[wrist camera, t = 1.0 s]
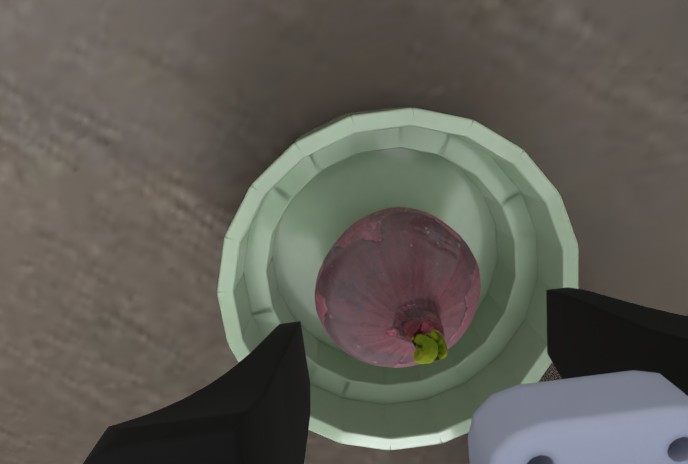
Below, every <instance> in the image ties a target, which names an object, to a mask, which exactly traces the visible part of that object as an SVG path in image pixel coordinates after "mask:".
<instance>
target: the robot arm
mask: <svg viewBox="0 0 688 464" xmlns="http://www.w3.org/2000/svg"><path fill="white" fill-rule="evenodd" d="M546 304H547V354H548V356H549V357H550V359H551V361H552V362H553V364H554V366H555V368H556V369H557V371H558V372H559V374H560V376H561V377H562V379H560V380H552V381H544V382H537V383H529V384H521V385H516V386H513V387H511V388H508V389H505V390H502V391H500V392H497V393H494V394H492V395H491V396H490V397H489V398H488V399H487V400H486V401H485V402H484V403H483V404H482V405H481V406H480V407H479V408H478V409H477V410H476V411H475V412H474V413H473V417H472V421H471V425H470V429H469V434H468V449H469V464H688V316H683V315H678V314H673V313H669V312H665V311H661V310H656V309H652V308H648V307H644V306H640V305H636V304H633V303H629V302H625V301H622V300H618V299H615V298H611V297H608V296H604V295H601V294H597V293H593V292H589V291H585V290H581V289H576V288H569V287H566V288H558V289H550V290H546ZM309 421H310V378H309V372H308V366H307V359H306V353H305V347H304V340H303V334H302V328H301V321H299V322H291V323H283V324H279V325H278V326H277V327H276V328H275V329H274V330H273V331H272V332H271V333H270V334H269V335H268V336H267V337H266V338H265V339H264V340H263V341H262V342H261V343H260V344H259V345H258V346H257V347H256V348H255V349H254V350H253V351H252V352H251V353H250V354H248V355H247V356H246V357H245V358H244V359H243V360H242V361H240V362H239V363H238V364H237V365H236V366H235V367H233V368H232V369H231V370H230V371H228V372H227V373H226V374H224V375H223V376H221V377H220V378H218V379H217V380H215V381H214V382H213V383H211V384H209V385H208V386H206V387H204V388H203V389H201V390H199V391H197V392H195V393H193V394H192V395H190V396H188V397H186V398H184V399H182V400H180V401H178V402H176V403H174V404H172V405H170V406H167V407H165V408H163V409H160V410H158V411H155V412H153V413H150V414H147V415H145V416H142V417H139V418H136V419H132V420H129V421H126V422H123V423H120V424H117V425H113V426H110V427H108V428H107V430H106V431H105V432H104V434H103V435H102V437H101V438H100V440H99V441H98V442H97V444H96V445H95V447H94V448H93V450H92V451H91V453H90V454H89V456H88V457H87V458H86V460H85V461H84V463H83V464H304V458H305V451H306V443H307V436H308V428H309Z"/></svg>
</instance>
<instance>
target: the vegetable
mask: <svg viewBox="0 0 688 464" xmlns="http://www.w3.org/2000/svg"><path fill="white" fill-rule="evenodd" d="M480 292H481V280H480V272H479V267H478V264H477V261H476V259H475V257H474V255H473V253H472V252H471V250H470V248H469V247H468V245H467V243H466V242H465V241H464V240H463V239H462V238H461V236H460V235H459V234H458V233H457V232H455V231H454V230H453V229H452V228H451V227H450V226H448V225H447V224H446V223H444V222H443V221H441V220H440V219H438V218H437V217H435V216H433V215H431V214H429V213H427V212H424V211H420V210H416V209H412V208H406V207H393V208H387V209H384V210H381V211H377V212H374V213H372V214H369V215H367V216H366V217H364V218H362V219H360V220H358V221H356V222H355V223H354V224H353V225H351V226H350V227H349V228H348V229H347V230H345V232H344V233H343V234H342V235H341V236H340V237H339V239H338V240H337V241H336V242H335V243H334V244H333V246H332V248H331V249H330V251H329V252H328V254H327V256H326V257H325V259H324V261H323V263H322V265H321V267H320V269H319V272H318V276H317V280H316V287H315V305H316V311H317V314H318V317H319V319H320V321H321V323H322V325H323V327H324V329H325V331H326V332H327V334H328V335H329V337H330V338H331V339H332V340H333V341H334V343H335V344H336V345H338V346H339V347H340V348H341V349H343V350H344V351H345V352H347V353H348V354H349V355H351V356H353V357H354V358H356V359H358V360H360V361H363V362H365V363H367V364H371V365H375V366H381V367H391V368H401V367H409V366H414V365H417V364H429V363H432V362H433V361H437V360H441V359H444V358H445V357H446V356H447V350H448V349H449V348H450V347H451V346H452V345H454V344H455V343H456V342H457V341H458V340H459V339H460V338H461V337H462V335H463V334H464V333H465V331H466V330H467V328H468V327H469V326H470V324H471V322H472V320H473V318H474V315H475V312H476V309H477V306H478V303H479V298H480Z"/></svg>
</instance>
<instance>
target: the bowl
mask: <svg viewBox="0 0 688 464" xmlns="http://www.w3.org/2000/svg"><path fill="white" fill-rule="evenodd" d="M393 207H406V208H412V209H416V210H420V211H424V212H427V213H429V214H431V215H433V216H435V217H437V218H438V219H440V220H441V221H443V222H444V223H446V224H447V225H448V226H450V227H451V228H452V229H453V230H454V231H455V232H457V233H458V234H459V235H460V236H461V238H462V239H463V240H464V241H465V242H466V243H467V245H468V247H469V248H470V250H471V252H472V253H473V255H474V257H475V259H476V261H477V264H478V267H479V272H480V280H481V292H480V298H479V303H478V306H477V309H476V312H475V315H474V318H473V320H472V322H471V324H470V326H469V327H468V328H467V330H466V331H465V333H464V334H463V335H462V337H461V338H460V339H459V340H458V341H457V342H456V343H455V344H454V345H452V346H451V347H450V348H449V349H448V350H447V356H446V357H445V358H444V359H441V360H437V361H433V362H432V363H429V364H417V365H414V366H409V367H401V368H391V367H381V366H375V365H371V364H367V363H365V362H363V361H360V360H358V359H356V358H354V357H353V356H351V355H349V354H348V353H347V352H345V351H344V350H343V349H341V348H340V347H339V346H338V345H336V344H335V343H334V341H333V340H332V339H331V338H330V337H329V335H328V334H327V332H326V331H325V329H324V327H323V325H322V323H321V321H320V319H319V317H318V314H317V311H316V305H315V287H316V280H317V276H318V272H319V269H320V267H321V265H322V263H323V261H324V259H325V257H326V256H327V254H328V252H329V251H330V249H331V248H332V246H333V244H334V243H335V242H336V241H337V240H338V239H339V237H340V236H341V235H342V234H343V233H344V232H345V230H347V229H348V228H349V227H350V226H351V225H353V224H354V223H355V222H356V221H358V220H360V219H362V218H364V217H366V216H367V215H369V214H372V213H374V212H377V211H381V210H384V209H387V208H393ZM566 287H569V288H576V289H578V243H577V240H576V237H575V234H574V231H573V228H572V226H571V223H570V220H569V217H568V214H567V211H566V209H565V206H564V203H563V200H562V197H561V195H560V194H559V192H558V190H557V189H556V188H555V187H554V186H553V184H552V183H551V182H550V181H549V179H548V178H547V177H546V176H545V175H544V173H543V172H542V171H541V170H540V168H539V167H538V166H537V165H536V164H535V162H534V161H533V160H532V159H531V158H530V156H529V155H528V154H527V153H526V151H524V150H523V149H522V148H521V147H519V146H517V145H515V144H514V143H512V142H510V141H509V140H507V139H505V138H504V137H502V136H500V135H499V134H497V133H495V132H494V131H492V130H490V129H489V128H487V127H485V126H483V125H482V124H480V123H478V122H477V121H475V120H472V119H469V118H464V117H459V116H454V115H449V114H444V113H439V112H434V111H429V110H424V109H419V108H404V107H393V108H385V109H377V110H369V111H362V112H354V113H347V114H344V115H342V116H340V117H337V118H335V119H333V120H331V121H329V122H327V123H325V124H323V125H321V126H319V127H317V128H315V129H313V130H311V131H308V132H306V133H304V134H303V135H302V136H300V137H299V138H298V139H297V140H296V141H295V142H293V143H292V144H291V145H290V146H289V147H288V148H287V149H286V150H285V151H284V152H283V153H282V154H281V155H280V156H279V157H278V158H277V159H276V160H275V161H274V162H273V163H272V164H271V165H270V166H269V167H268V168H267V169H266V170H265V171H264V172H263V173H262V174H261V175H260V176H259V177H258V178H257V179H256V180H255V181H254V182H253V183H252V185H251V186H250V187H249V189H248V191H247V193H246V195H245V197H244V199H243V201H242V203H241V205H240V207H239V209H238V211H237V212H236V214H235V216H234V218H233V220H232V222H231V224H230V226H229V228H228V230H227V232H226V234H225V238H224V242H223V249H222V257H221V264H220V271H219V279H218V286H217V291H218V292H217V295H218V300H219V305H220V310H221V315H222V320H223V324H224V329H225V334H226V339H227V343H228V345H229V347H230V349H231V350H232V352H233V354H234V355H235V357H236V359H237V360H238V362H240V361H242V360H243V359H244V358H245V357H246V356H247V355H248V354H250V353H251V352H252V351H253V350H254V349H255V348H256V347H257V346H258V345H259V344H260V343H261V342H262V341H263V340H264V339H265V338H266V337H267V336H268V335H269V334H270V333H271V332H272V331H273V330H274V329H275V328H276V327H277V326H278V325H279V324H283V323H291V322H299V321H301V328H302V334H303V340H304V347H305V353H306V359H307V366H308V372H309V378H310V421H309V428H308V429H309V430H311V431H313V432H315V433H317V434H320V435H322V436H324V437H326V438H329V439H331V440H333V441H335V442H338V443H341V444H348V445H355V446H362V447H369V448H376V449H383V450H398V449H405V448H413V447H421V446H429V445H436V444H441V443H445V442H447V441H450V440H452V439H454V438H457V437H459V436H462V435H464V434H466V433H469V429H470V425H471V421H472V417H473V413H474V412H475V411H476V410H477V409H478V408H479V407H480V406H481V405H482V404H483V403H484V402H485V401H486V400H487V399H488V398H489V397H490V396H491V395H492V394H494V393H497V392H500V391H502V390H505V389H508V388H511V387H513V386H516V385H521V384H529V383H537V382H538V381H539V380H540V378H541V377H542V376H543V374H544V373H545V371H546V370H547V369H548V367H549V366H550V365H551V363H552V361H551V359H550V357H549V356H548V354H547V304H546V290H550V289H558V288H566Z"/></svg>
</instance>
